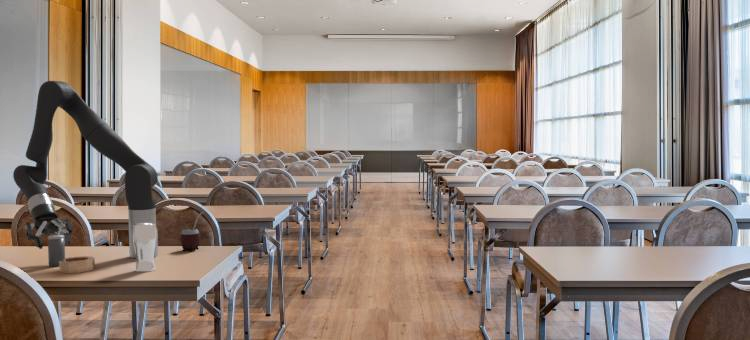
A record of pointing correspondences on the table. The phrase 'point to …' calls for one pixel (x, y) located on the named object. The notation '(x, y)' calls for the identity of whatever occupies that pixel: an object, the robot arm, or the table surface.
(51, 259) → the plug
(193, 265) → the table surface
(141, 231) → the beer glass
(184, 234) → the mate gourd
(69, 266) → the wooden polygonal ring
